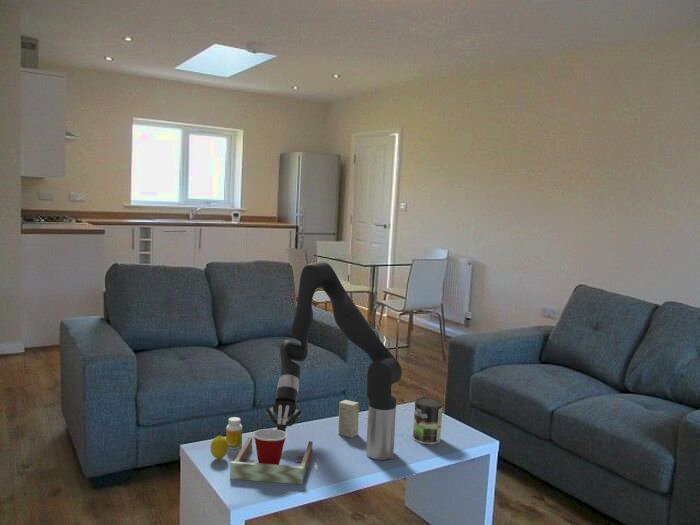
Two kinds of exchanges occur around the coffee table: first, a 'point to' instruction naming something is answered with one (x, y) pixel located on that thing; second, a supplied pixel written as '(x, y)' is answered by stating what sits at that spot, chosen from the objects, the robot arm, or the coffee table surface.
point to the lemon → (219, 447)
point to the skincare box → (348, 418)
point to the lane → (268, 468)
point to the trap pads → (299, 460)
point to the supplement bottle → (234, 433)
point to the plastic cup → (269, 445)
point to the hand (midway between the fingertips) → (280, 436)
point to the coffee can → (427, 420)
